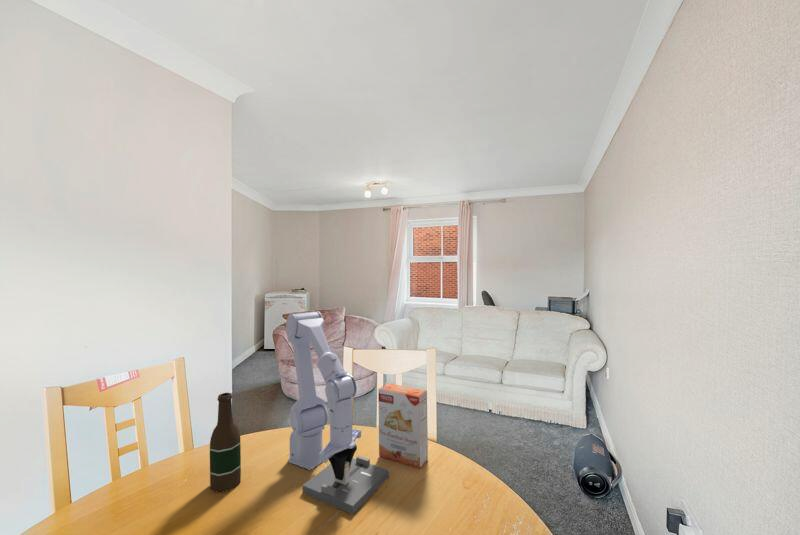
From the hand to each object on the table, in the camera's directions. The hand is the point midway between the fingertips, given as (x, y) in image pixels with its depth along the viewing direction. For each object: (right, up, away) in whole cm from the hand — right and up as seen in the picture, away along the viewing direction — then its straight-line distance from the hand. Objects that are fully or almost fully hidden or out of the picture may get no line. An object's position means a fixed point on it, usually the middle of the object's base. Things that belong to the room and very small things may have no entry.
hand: (341, 476), depth 88 cm
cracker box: (+16, -4, +14) cm, 22 cm away
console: (+1, -3, +2) cm, 4 cm away
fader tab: (0, -1, 0) cm, 1 cm away
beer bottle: (-32, -4, +3) cm, 32 cm away
